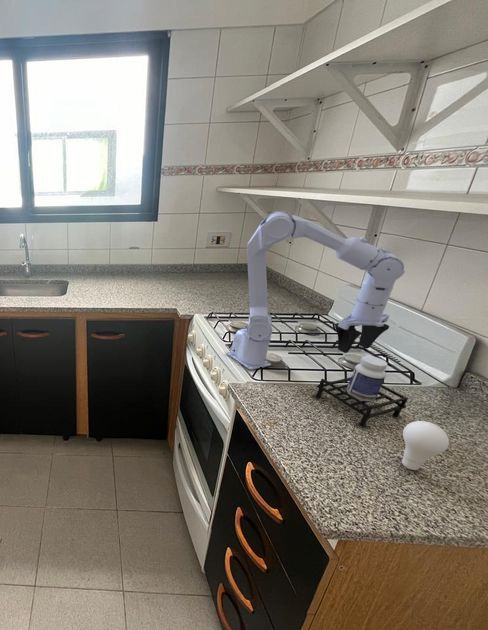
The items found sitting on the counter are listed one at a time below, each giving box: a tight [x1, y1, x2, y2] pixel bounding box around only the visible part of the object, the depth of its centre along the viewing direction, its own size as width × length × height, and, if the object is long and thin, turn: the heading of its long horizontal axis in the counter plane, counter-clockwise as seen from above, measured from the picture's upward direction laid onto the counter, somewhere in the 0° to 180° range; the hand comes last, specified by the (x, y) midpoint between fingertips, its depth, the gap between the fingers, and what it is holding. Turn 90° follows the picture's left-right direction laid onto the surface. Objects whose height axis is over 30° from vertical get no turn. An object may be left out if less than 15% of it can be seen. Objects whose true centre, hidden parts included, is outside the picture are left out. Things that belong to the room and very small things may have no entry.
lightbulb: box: [401, 420, 450, 471], centre depth 67 cm, size 6×6×11 cm
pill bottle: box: [346, 355, 388, 402], centre depth 83 cm, size 6×6×10 cm
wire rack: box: [315, 376, 409, 428], centre depth 85 cm, size 13×12×6 cm
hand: (353, 348), depth 92 cm, fingers open, 7 cm apart
